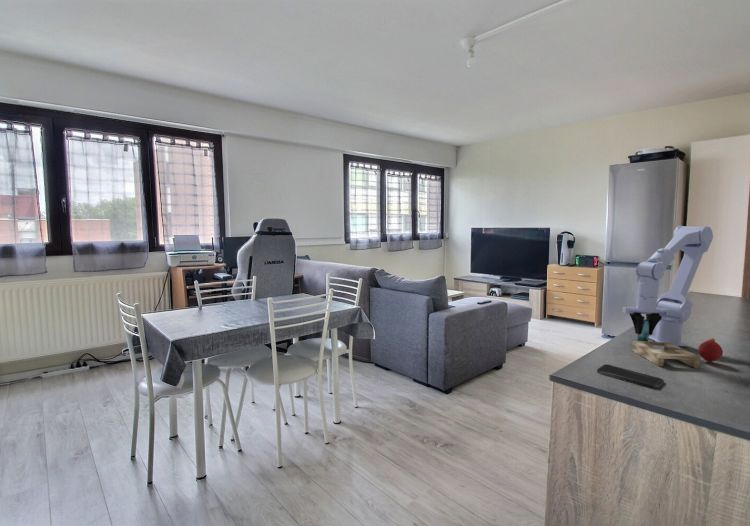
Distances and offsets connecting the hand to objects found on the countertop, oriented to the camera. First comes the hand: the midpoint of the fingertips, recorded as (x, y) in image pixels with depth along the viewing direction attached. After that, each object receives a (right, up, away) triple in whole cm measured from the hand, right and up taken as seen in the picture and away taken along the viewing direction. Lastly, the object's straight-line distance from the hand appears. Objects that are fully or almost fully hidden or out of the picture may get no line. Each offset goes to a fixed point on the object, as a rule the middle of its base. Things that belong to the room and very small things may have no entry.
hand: (643, 333), depth 137 cm
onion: (+12, -7, -13) cm, 19 cm away
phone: (-22, -8, -26) cm, 35 cm away
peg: (0, -5, +1) cm, 5 cm away
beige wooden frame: (-1, -6, -11) cm, 13 cm away
